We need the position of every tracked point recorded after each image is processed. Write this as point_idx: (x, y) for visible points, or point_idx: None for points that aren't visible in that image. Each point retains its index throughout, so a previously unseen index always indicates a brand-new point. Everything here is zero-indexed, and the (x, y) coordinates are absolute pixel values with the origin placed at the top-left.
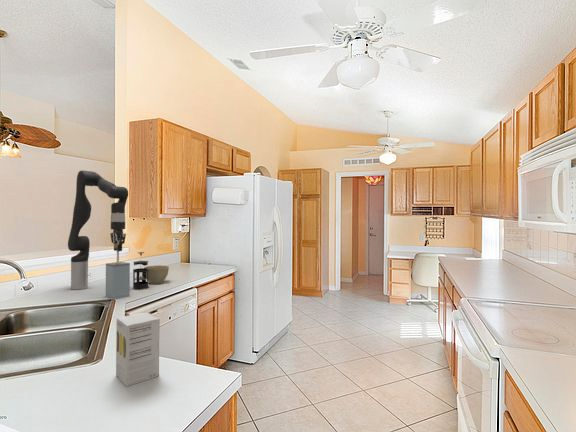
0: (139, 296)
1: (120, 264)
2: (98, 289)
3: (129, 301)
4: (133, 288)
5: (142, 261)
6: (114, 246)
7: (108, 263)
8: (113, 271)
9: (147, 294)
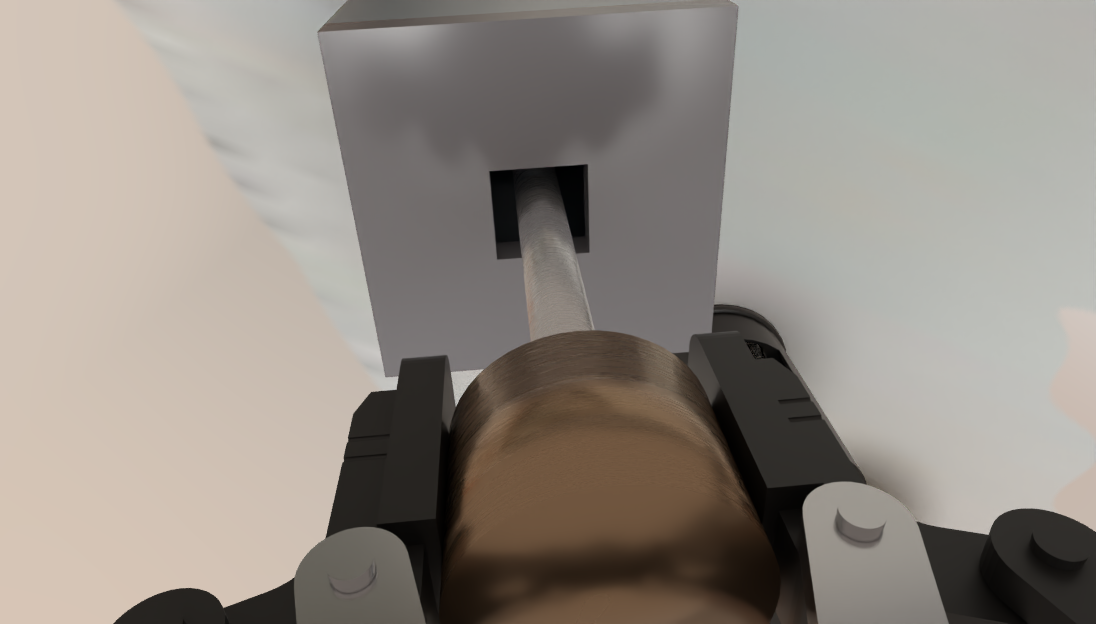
0: (330, 215)
1: (353, 199)
2: (1065, 35)
3: (149, 41)
4: (720, 308)
5: (778, 618)
6: (584, 390)
7: (694, 58)
8: (343, 7)
9: (366, 303)
